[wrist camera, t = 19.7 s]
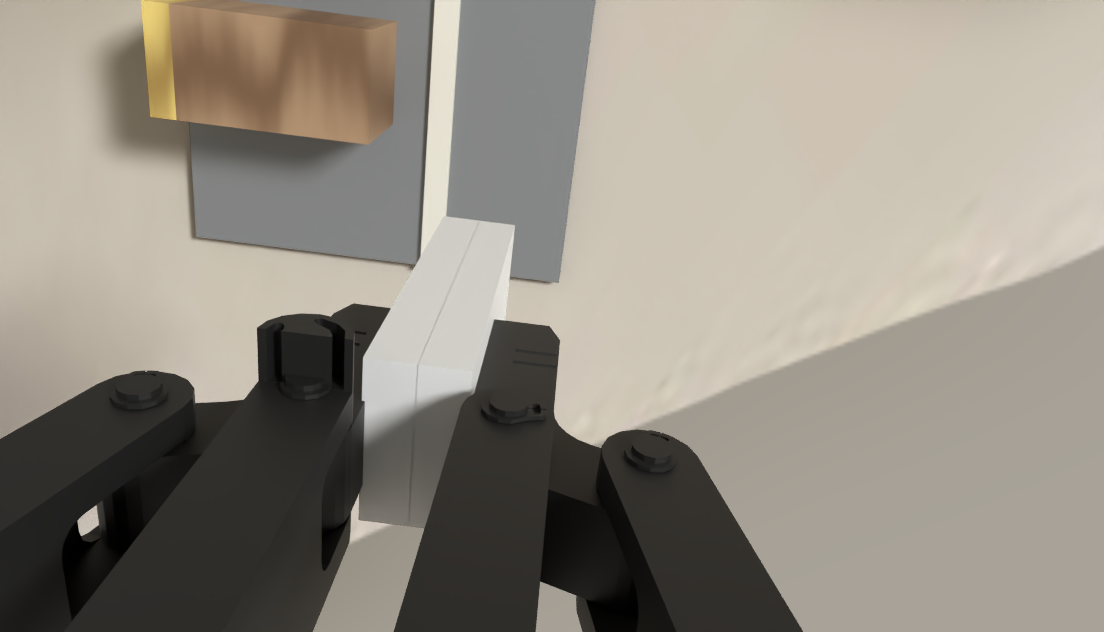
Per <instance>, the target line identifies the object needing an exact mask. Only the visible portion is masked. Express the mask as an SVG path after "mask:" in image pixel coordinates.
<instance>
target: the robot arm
mask: <svg viewBox="0 0 1104 632" xmlns="http://www.w3.org/2000/svg"><path fill="white" fill-rule="evenodd" d="M514 230H515V225H510V224H502V223H494V222H486V221H478V220H470V219H463V218H455V217H447V216H444V217H443V218H442V220H441V222H440V224H439V225H438V227H437V229H436V231H435V232H434V234H433V236H432V238H431V239H430V241H429V243H428V245H427V246H426V248H425V250H424V252H423V253H422V255H421V257H420V259H419V260H418V262H417V264H416V266H415V267H414V269H413V271H412V273H411V274H410V276H409V278H408V280H407V281H406V283H405V285H404V287H403V288H402V290H401V292H400V294H399V295H398V297H397V299H396V301H395V302H394V304H393V306H392V308H384V307H376V306H369V305H361V304H352V305H350V306H348V307H346V308H344V309H342V310H340V311H338V312H336V313H334V314H333V315H332V316H331V317H330V316H325V315H320V314H294V315H285V316H281V317H278V318H274V319H271V320H268V321H266V322H265V323H263V324H262V325H260V326H259V327H258V328H257V342H258V374H259V381H258V383H257V384H256V385H255V386H254V388H253V389H252V390H251V392H250V393H249V394H248V395H247V397H246V398H245V399H244V400H238V401H229V402H211V403H195V394H194V387H193V386H192V385H191V384H190V382H189V381H188V380H187V379H185V378H182V377H180V376H178V375H175V374H171V373H164V372H159V371H147V372H145V371H135V372H132V373H130V374H125V375H120V376H115V377H113V378H111V379H108V380H106V381H103V382H101V383H99V384H97V385H95V386H93V387H91V388H90V389H88V390H86V391H84V392H83V393H81V394H79V395H77V396H76V397H74V398H72V399H70V400H68V401H67V402H65V403H63V404H61V405H60V406H58V407H56V408H54V409H53V410H51V411H49V412H47V413H46V414H44V415H42V416H40V417H38V418H37V419H35V420H33V421H31V422H30V423H28V424H26V425H24V426H23V427H21V428H19V429H17V430H15V431H14V432H12V433H10V434H8V435H7V436H5V437H3V438H1V439H0V632H313V629H314V627H315V624H316V622H317V619H318V617H319V615H320V612H321V610H322V607H323V605H324V603H325V600H326V598H327V595H328V593H329V590H330V588H331V586H332V583H333V581H334V578H335V575H336V573H337V571H338V569H339V566H340V564H341V561H342V559H343V556H344V554H345V551H346V549H347V547H348V544H349V540H350V528H351V510H352V508H353V506H354V504H355V501H356V499H357V497H358V494H359V520H363V521H371V522H379V523H387V524H395V525H403V526H411V527H419V528H425V529H424V532H423V535H422V539H421V542H420V546H419V549H418V552H417V556H416V559H415V562H414V566H413V569H412V572H411V576H410V579H409V582H408V586H407V589H406V593H405V596H404V599H403V603H402V606H401V609H400V612H399V616H398V619H397V623H396V626H395V629H394V632H535V631H536V620H537V608H538V598H539V587H540V581H541V582H543V583H546V584H549V585H551V586H554V587H556V588H559V589H561V590H564V591H566V592H569V593H572V594H574V595H576V596H577V597H576V605H577V606H576V607H577V614H578V617H579V621H580V624H581V628H582V631H583V632H803V631H802V629H801V627H800V626H799V624H798V623H797V621H796V619H795V618H794V616H793V614H792V612H791V611H790V609H789V607H788V606H787V604H786V602H785V601H784V599H783V598H782V596H781V594H780V593H779V591H778V589H777V588H776V586H775V584H774V583H773V581H772V579H771V578H770V576H769V574H768V573H767V571H766V569H765V568H764V566H763V564H762V563H761V561H760V559H759V558H758V556H757V554H756V553H755V551H754V549H753V548H752V546H751V544H750V543H749V541H748V539H747V538H746V536H745V534H744V533H743V531H742V530H741V528H740V526H739V525H738V523H737V521H736V519H735V518H734V516H733V515H732V513H731V511H730V509H729V508H728V506H727V505H726V503H725V501H724V500H723V498H722V496H721V495H720V493H719V491H718V490H717V488H716V486H715V485H714V483H713V481H712V480H711V478H710V476H709V475H708V473H707V471H706V470H705V468H704V466H703V465H702V463H701V461H700V460H699V458H698V456H697V455H696V454H695V453H694V452H693V451H692V450H691V449H690V448H689V447H688V446H687V445H686V444H684V443H682V442H680V441H679V440H677V439H675V438H673V437H671V436H669V435H666V434H663V433H662V434H661V433H660V432H656V431H650V430H649V431H646V430H629V431H621V432H618V433H616V434H614V435H612V436H610V437H608V438H607V440H606V441H605V442H604V444H603V445H602V448H599V447H595V446H592V445H590V444H587V443H585V442H582V441H580V440H577V439H576V438H574V437H573V436H571V435H569V434H568V433H566V432H565V431H564V430H563V429H562V428H561V427H560V426H559V425H558V423H557V421H556V420H555V417H554V402H555V390H556V379H557V367H558V356H559V345H560V340H559V338H558V337H557V336H556V334H555V333H554V332H553V330H552V329H551V328H550V326H543V325H535V324H528V323H520V322H512V321H505V317H506V308H507V298H508V288H509V279H510V269H511V259H512V250H513V240H514ZM96 505H97V512H98V519H99V525H98V526H97V527H96V528H94V529H93V530H92V531H91V532H89V533H87V534H85V535H83V536H81V535H80V533H79V530H78V523H77V520H78V519H79V518H80V517H81V516H82V515H83V514H85V513H86V512H87V511H89V510H90V509H91V508H93V507H94V506H96Z"/></svg>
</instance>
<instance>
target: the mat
mask: <svg viewBox="0 0 1104 632" xmlns="http://www.w3.org/2000/svg"><path fill="white" fill-rule="evenodd" d="M237 1H245V2H253V3H260V4H268V5H276V6H284V7H292V8H299V9H307V10H315V11H323V12H330V13H338V14H346V15H354V16H361V17H369V18H377V19H385V20H393V21H397V35H396V60H395V86H394V112H393V124H392V125H391V126H390V127H389V128H388V129H387V130H385V131H384V132H383V133H382V134H381V135H379V136H378V137H377V138H376V139H375V140H374V141H372V142H371V143H370V144H369V145H366V144H358V143H351V142H343V141H335V140H327V139H319V138H311V137H304V136H296V135H288V134H280V133H272V132H264V131H257V130H249V129H241V128H233V127H225V126H218V125H210V124H202V123H194V122H189V130H190V146H191V162H192V178H193V194H194V210H195V226H196V237H201V238H209V239H216V240H224V241H232V242H240V243H248V244H256V245H264V246H272V247H279V248H287V249H295V250H303V251H311V252H319V253H327V254H335V255H343V256H350V257H358V258H366V259H374V260H382V261H390V262H398V263H406V264H414V265H416V264H417V262H418V260H419V259H420V257H421V255H422V253H423V252H424V250H425V248H426V246H427V245H428V243H429V241H430V239H431V238H432V236H433V234H434V232H435V231H436V229H437V227H438V225H439V224H440V222H441V220H442V218H443V217H444V216H447V217H455V218H463V219H470V220H478V221H486V222H494V223H502V224H510V225H515V230H514V240H513V250H512V259H511V269H510V277H516V278H524V279H532V280H540V281H548V282H555V283H559V276H560V268H561V260H562V253H563V245H564V237H565V230H566V222H567V214H568V206H569V199H570V191H571V183H572V176H573V168H574V160H575V153H576V145H577V137H578V130H579V122H580V114H581V107H582V99H583V91H584V83H585V76H586V68H587V60H588V53H589V45H590V37H591V30H592V22H593V14H594V7H595V0H237Z"/></svg>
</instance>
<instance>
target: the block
mask: <svg viewBox="0 0 1104 632" xmlns="http://www.w3.org/2000/svg"><path fill="white" fill-rule="evenodd" d="M141 8H142V21H143V33H144V45H145V58H146V70H147V83H148V95H149V108H150V117H155V118H163V119H171V120H178V121H186V122H194V123H202V124H210V125H218V126H225V127H233V128H241V129H249V130H257V131H264V132H272V133H280V134H288V135H296V136H304V137H311V138H319V139H327V140H335V141H343V142H351V143H358V144H366V145H369V144H370V143H371V142H372V141H374V140H375V139H376V138H377V137H378V136H379V135H381V134H382V133H383V132H384V131H385V130H387V129H388V128H389V127H390V126H391V125H392V124H393V112H394V86H395V60H396V35H397V21H393V20H385V19H377V18H369V17H361V16H354V15H346V14H338V13H330V12H323V11H315V10H307V9H299V8H292V7H284V6H276V5H268V4H260V3H253V2H245V1H237V0H141Z"/></svg>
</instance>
